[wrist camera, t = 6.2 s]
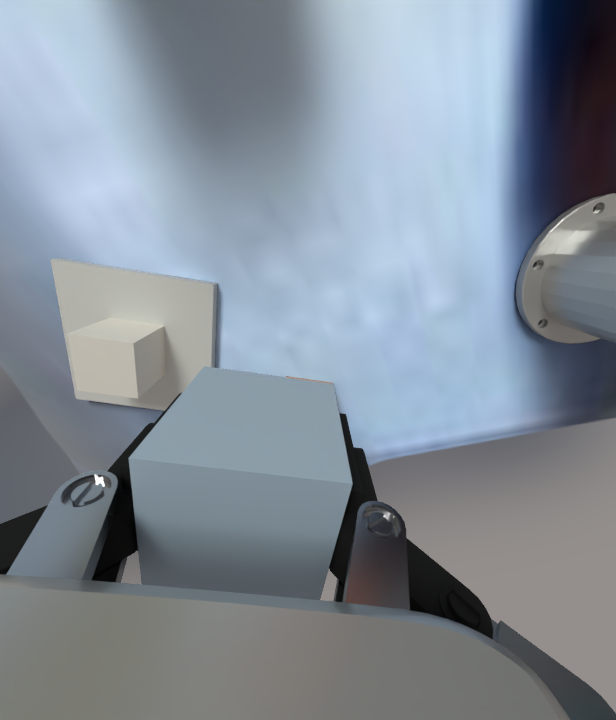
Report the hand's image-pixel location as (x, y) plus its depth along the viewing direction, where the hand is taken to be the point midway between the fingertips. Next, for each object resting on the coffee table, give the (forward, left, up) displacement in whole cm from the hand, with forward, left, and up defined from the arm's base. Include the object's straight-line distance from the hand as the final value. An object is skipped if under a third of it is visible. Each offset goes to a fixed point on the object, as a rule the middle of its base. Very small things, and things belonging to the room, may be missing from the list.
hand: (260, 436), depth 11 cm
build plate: (+14, +4, -18) cm, 23 cm away
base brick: (+14, +4, -17) cm, 22 cm away
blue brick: (0, 0, -1) cm, 1 cm away
